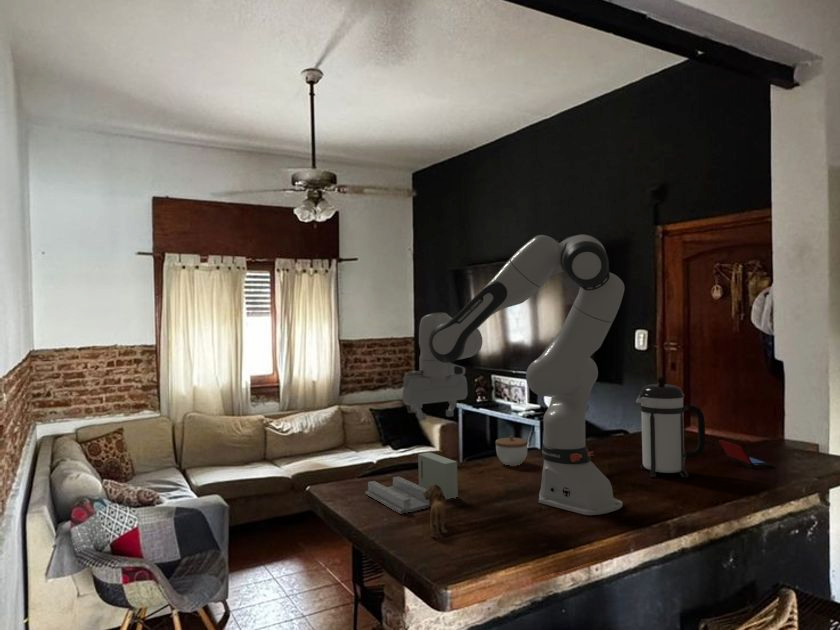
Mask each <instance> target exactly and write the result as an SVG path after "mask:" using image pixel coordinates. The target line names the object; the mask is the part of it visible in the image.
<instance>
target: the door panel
mask: <svg viewBox="0 0 840 630" xmlns="http://www.w3.org/2000/svg"><path fill="white" fill-rule="evenodd" d="M417 460H418V461H417V465H418V471H417V472H418V485H419V486H421V487H423V488H426V489H429V485H431V484H436V485H437V486H439V487H440V488H441V490H442V491H443V494H444V496H445V499H450V498H454V499H457V498H456V497H458V498H459V493H458V492H459V491H458V488H459V487H458V483H459V482H458V461H457V460H453V459H451V458H447V457H444V456H442V455H439V454H436V453H433V452H431V451H429V452H428V451H427V452H424V453H418V454H417ZM450 500H451V499H450Z"/></svg>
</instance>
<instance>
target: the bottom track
mask: <svg viewBox="0 0 840 630" xmlns="http://www.w3.org/2000/svg"><path fill="white" fill-rule="evenodd" d="M367 487H368V488H367V490H366V491H364V494H367V495H368V496H370V497H372V498H374V499H375V500H377V501H379V502H381V503H382V504H384V505H386V506H387V507H389V508H391V509H392V511H393V510H394V511H393V512H395V511H396V512H398V513H400V514H402V515H404V514H403V513H406V514H409V513H408V512H411V513H414V511H415V512H418V510H419V511H422V510H421V509H424V510H426V509H425V508H428V509H430V508H429V507H430V503H429V500H425V498H424V496H423V493H424V492H425V491H427V490H428V489H426V488H423V487H421V486H419V484H416V483H414V482H412V481H409V480H407V479H405V478H404V477H401V476H394V477H392V485H391V486H385V485H384V484H381V483H379V482H377V481H376V480H373V481H368V482H367ZM368 496H367V497H368ZM375 500H374V501H375ZM377 501H376V502H377ZM382 504H381V505H382ZM384 505H383V506H384ZM386 506H385V507H386ZM387 507H386V508H387ZM389 508H388V509H389ZM391 509H390V510H391ZM396 512H395V513H396ZM398 513H397V514H398ZM400 514H399V515H400Z"/></svg>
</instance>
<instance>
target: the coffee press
mask: <svg viewBox="0 0 840 630" xmlns="http://www.w3.org/2000/svg"><path fill="white" fill-rule="evenodd" d="M657 382H658V383H655V384H654V383H651V384H647V385H645V386H643V387H642V388H641V391H640V392H639V395H638V396H637V398H636V400H635V403H637V404H640V405H639V406H640V407H639V408H640V411H641V446H642V448H641V450H642V451H641V453H642V457H641V458H642V463H640V465H639V469H640V470H642V468H644V469H643V470H645V469H647V470H649V478H653V477H654V476H655V478H656V477H657V474H659V473H664V474H665V473H666V474H674V473H677V474H678V475H680V476H681V477H682V478H683V477H684V476H685V478H688V477H689V473H688V472H687V470H686V468H685V460H686V458H687V459H688V458H696V457H698V456H700V455H702V453H703V452H704V450H705V447H706V426H705V415H704V414H703V412H702V410H701V409H700V408H698V407H696V406H694V405H690V404H687V405H684V397H685V393H683V390H682V388H680V386H677V385H673V384H667V383H666V384H665V382H666V378H665V377H664V376H659V377H658V378H657ZM685 411H688V412H692V413H694V414H695V416H696V418H697V434H698V435H697V437H698V438H697V441H698V442H697V447H696V448H695V450H692V451H685V437H684V436H685V429H684V427H685V425H684V413H685ZM682 471H683V473H682ZM684 474H685V475H684ZM685 478H684V479H685Z"/></svg>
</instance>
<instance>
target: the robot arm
mask: <svg viewBox="0 0 840 630" xmlns="http://www.w3.org/2000/svg"><path fill="white" fill-rule="evenodd" d="M609 264H610V263H609V257H608V254H607V252H606V249H605V247H604V245H603V244H602V242H600V241H599V239H597V238H596V236H594V235H592V234H590V233H586V232H579V233H578V232H577V233H575V234H571V235H569V236H566V237H563V238H560V239H558V240H556V239H554V238H553V237H550V236H548V235H544V234H540V235H539V234H538V235H535V236H534V237H532V238H531V239H530V240H528V241H527V242H526V243H524V245H522V246H521V247H520V248H519V249H518V250H517V251H516V252H515V253H514V254H513V255H512V256H511V257H510V258H509V259H508V260H507V261H506V263H505V264H504V265H503V266H502V267H501V269H500V270H499V271H498V272H497V273H496V274H495V275H494V277H493V278H492V279H491V280H490V281H489V282H488V283H487V284H486V285H485V286H484V288H482V290H481V291H479V292H478V293H477V294H476V295H475V296H474V297H473V298H472V299H471V300H470V301H469V302H468V303H467V304H466V305H465V306H464V307H463V308H462V309H461V310H460V311H459V312H457V314H455V316H454V317H452V316H450V315H449V314H448V313H446V312H443V311H441V312H440V311H439V312H432V313H429V314H426V315H424V316H423V317H421V319H420V322H419V326H418V327H419V328H418V344H419V345H418V346H419V350H420V355H419V358H418V359H419V364H418V365H419V370H415V371H408V372H407V373H405V375H404V376H403V379H402V381H403V388H402V402H403V404H405V405H406V406H414V409H415V411H416V413H417V416H418V419H417V420H419V421H426V420H427V417H426V416H427V413H424V411H423V410H422V409H423V405H425V404H426V405H427V404H435V403H436V404H437V403H444V402H445V403H446V402H448V404H449V406H448V409H445V416H446V417H448V418H449V417H454V410H455V408H456V406H457V401H461V400H466V398H467V397H468V381H467V377H466V376H465V374H466V367H464V366H461V365H458V364H455V363H453V362H455V361H457V360H458V361H459V360H464V359H467V358H471V357H472V358H473V356H476V355H477V354H478V353H480V350H481V349H482V347H483V336H482V333H481V331H480V330H479V329H478V328H479V327H481V326H482V325H483V324H484V323H485V322H486V321H487V320H489V318H491V316H492V315H494V314H495V313H498V312H499V311H502V310H505V309H507V308H510V307H514V306H517V305H522V304H523V303H525V302H526V301H527V300H528V299H530V298H531V297H533V296H534V295H535V294H536V293H537V292H538V291H539V290H540V289H541V288H542V287H543V286H544V285H545V283H546V282H547V281H548V280H550V278H552V277H553V276H555V275H556V274H558V273H559V274H560V273H565V274H566V275H567V277H568V278H569V279H570V280H571V281H572V282H574V283H575V284H577V285H578V286H579V290H578V294H577V295H576V298H575V300H574V302H573V304H572V306H571V308H570V310H569V311H568V314H567V317H566V318H565V320H564V322H563V324H562V327H561V328H560V330H559V332H557V334H556V335H555V337H554V338H553V339H552V341H551V342H550V343H549V344H548V345H547V347H546V348H545V349H544V350H543V352H542V353H541V354H540V356H539V357H538V358H536V359H534V361H532V362H531V363H530V364H529V366H528V367H527V369H526V372H525V373H526V374H525V378H526V379H525V380H526V385H527V386H528V388H529V389H530V390H531V391H532V393H534V394H536V395H538V396H542V397H548V398H551V399H550V403H549V405H548V408H547V409H546V411H545V413H544V415H543V418H542V419H543V443H542V445H541V446H542V449H541V452H542V453H541V454H542V455H541V457H542V458H543V467H542V474H541V485H540V490H539V494H538V503H540V504H542V505H546V506H550V507H553V508H554V507H555V508H558V509H562V510H564V511H565V510H566V511H569V512H573V513H576V514H580V515H584V516H596V515H597V516H598V515H604V514H608V513H611V512H615V511H617V510H619V509H622V507H623V506H624V505H623V504H624V503H623V501H622V500H620V499H618V498H616V497H614V493H613V486H612V484H611V481H610V480H609V478H607V477H606V475H605V474H603V472H602V471H601V470H600V469H599V468H598V467H597V466H596V465H595V464H594V463H593V462H592V461H591V460H592V458H591V457H592V456H594V454H593V453H594V451H593V450H591V451H589V449H588V446H587V445H586V417H587V416H586V415H587V409H588V404H589V400H590V394H591V391H592V388H593V386H594V384H595V383H596V381H597V380H598V376H599V370H598V366H597V364H596V362H595V361H594V359H592V357H591V356H592V355H593V354H595V352H596V351H598V350H599V349H600V348H601V346H602V345H603V342H604V340H605V339H606V337H607V334H608V333H609V331H610V329H611V326H612V324H613V322H614V320H615V318H616V316H617V314H618V311H619V309H620V307H621V304H622V300H623V296H624V292H625V284H624V282H623V280H622V279H621V278H620V277H619V276H618V275H616V274H614V273H612V272H610V267H609Z"/></svg>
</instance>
